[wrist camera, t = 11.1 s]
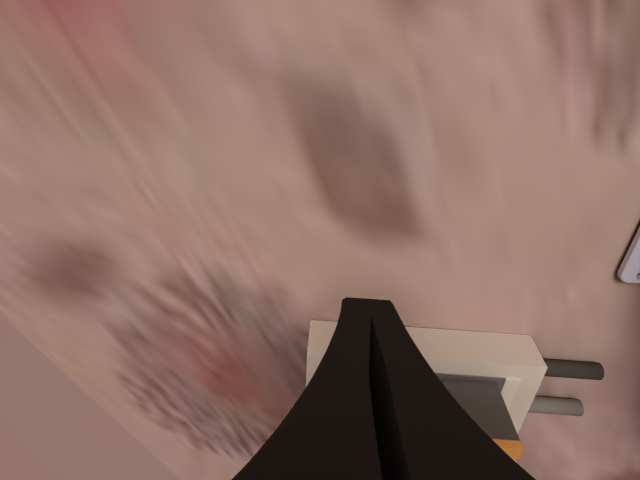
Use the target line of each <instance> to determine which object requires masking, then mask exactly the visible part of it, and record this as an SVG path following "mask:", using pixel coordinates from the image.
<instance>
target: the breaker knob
mask: <svg viewBox="0 0 640 480" xmlns="http://www.w3.org/2000/svg"><path fill="white" fill-rule="evenodd" d="M441 382H442V383H443V385H444V386H445V387H446V388H447V390H448V391H449V392H450V393H451V395H452V396H453V397H454V398H455V400H456V401H457V402H458V403H459V404H460V405H461V407H462V408H463V409H464V410H465V411H466V412H467V414H468V415H469V416H470V417H471V418H472V419H473V420H474V421H475V422H476V423H477V424H478V426H479V427H480V428H481V429H482V430H483V431H484V432H485V433H486V434H487V435H488V436H489V437H490V438H491V439H492V440H493V441H494V442H495V443H496V444H497V445H498V446H499V447H500V448H501V449H503V450H504V451H505V452H506V453H507V454H508V455H509V456H510V457H511V458H512V459H513V460H514V461H515V462H516V463H517V461H518V459H519V457H520V455H521V453H522V450H523V447H522V444H521V442H520V439H519V437H518V434H517V432H516V429H515V427H514V424H513V422H512V419H511V417H510V415H509V412H508V410H507V407H506V405H505V402H504V400H503V397H502V395H501V392H500V390H499V387H498V385H497V383H495V382H482V381H468V380H454V379H442V381H441Z"/></svg>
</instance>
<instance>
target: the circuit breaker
mask: <svg viewBox="0 0 640 480" xmlns="http://www.w3.org/2000/svg"><path fill="white" fill-rule="evenodd" d="M337 323H338V322H332V321H318V320H311V322H310V331H309V340H308V349H307V372H306V387H307V385H308V383H309V382H310V380H311V378H312V377H313V375H314V373H315V371H316V369H317V367H318V366H319V364H320V362H321V360H322V358H323V356H324V354H325V352H326V350H327V348H328V346H329V343H330V341H331V338H332V336H333V334H334V331H335V329H336V326H337ZM405 328H406V330H407V331H408V333H409V335H410V336H411V338H412V340H413V341H414V343H415V344H416V346H417V347H418V349H419V351H420V352H421V354H422V355H423V357H424V358H425V360H426V361H427V363H428V364H429V365H430V367H431V368H432V370H433V371H434V372H435V374H436V375H437V377H438V378H439V379H440V381H442V379H454V380H468V381H482V382H495V383H497V385H498V387H499V390H500V392H501V395H502V397H503V400H504V402H505V405H506V407H507V410H508V412H509V415H510V417H511V419H512V422H513V424H514V427H515V429H516V432H517V434H518V433H519V431H520V428H521V426H522V424H523V422H524V420H525V417H526V415H527V413H528V411H529V408H530V406H531V404H532V402H533V400H534V397H535V395H536V393H537V391H538V388H539V386H540V384H541V382H542V380H543V377H544V375H545V373H546V371H547V368H548V367H547V365H546V363H545V362H544V360H543V358H542V356H541V354H540V353H539V351H538V349H537V347H536V346H535V344H534V342H533V340H532V338H531V337H530V335H518V334H504V333H490V332H475V331H461V330H447V329H432V328H418V327H405Z"/></svg>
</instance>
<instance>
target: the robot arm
mask: <svg viewBox="0 0 640 480" xmlns="http://www.w3.org/2000/svg"><path fill="white" fill-rule="evenodd" d="M638 273H640V227H639V229H638V231H637V233H636V235H635V237H634V239H633V241H632V243H631V245H630V247H629V250H628V252H627V254H626V256H625V258H624V260H623V262H622V264H621V266H620V268H619V270H618V273H617V275H618V277H619V278H620V279H621V280H622V281H623V282H626V283H638V284H640V275H638V276H637V274H638ZM232 480H535V479H534V478H533V477H532V476H531V475H530V474H528V473H527V472H526V471H525V470H524V469H523V468H522V467H520V466H519V465H518V464H517V463H516V462H515V461H514V460H513V459H512V458H511V457H510V456H509V455H508V454H507V453H506V452H505V451H504V450H503V449H501V448H500V447H499V446H498V445H497V444H496V443H495V442H494V441H493V440H492V439H491V438H490V437H489V436H488V435H487V434H486V433H485V432H484V431H483V430H482V429H481V428H480V427H479V426H478V424H477V423H476V422H475V421H474V420H473V419H472V418H471V417H470V416H469V415H468V414H467V412H466V411H465V410H464V409H463V408H462V407H461V405H460V404H459V403H458V402H457V401H456V400H455V398H454V397H453V396H452V395H451V393H450V392H449V391H448V390H447V388H446V387H445V386H444V385H443V383H442V382H441V381H440V379H439V378H438V377H437V375H436V374H435V372H434V371H433V370H432V368H431V367H430V365H429V364H428V363H427V361H426V360H425V358H424V357H423V355H422V354H421V352H420V351H419V349H418V347H417V346H416V344H415V343H414V341H413V340H412V338H411V336H410V335H409V333H408V331H407V330H406V328H405V326H404V324H403V323H402V321H401V319H400V317H399V315H398V313H397V311H396V309H395V307H394V305H393V303H392V302H391V301H390V300H377V299H362V298H347V297H346V298H345V299H343V300H342V306H341V313H340V316H339V320H338V323H337V326H336V329H335V331H334V334H333V336H332V338H331V341H330V343H329V346H328V348H327V350H326V352H325V354H324V356H323V358H322V360H321V362H320V364H319V366H318V367H317V369H316V371H315V373H314V375H313V377H312V378H311V380H310V382H309V383H308V385H307V387H306V388H305V390H304V391H303V393H302V394H301V396H300V398H299V399H298V401H297V402H296V403H295V405H294V406H293V408H292V409H291V410H290V412H289V413H288V415H287V416H286V417H285V419H284V420H283V421H282V423H281V424H280V425H279V427H278V428H277V429H276V431H275V432H274V433H273V434H272V435H271V437H270V438H269V439H268V440H267V441H266V442H265V444H264V445H263V446H262V447H261V448H260V450H259V451H258V452H257V453H256V454H255V456H254V457H253V458H252V459H251V460H250V461H249V462H248V463H247V464H246V466H245V467H244V468H243V469H242V470H241V471H240V472H239V473H238V474H237V475H236V476H235V477H234V478H233V479H232Z"/></svg>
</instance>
